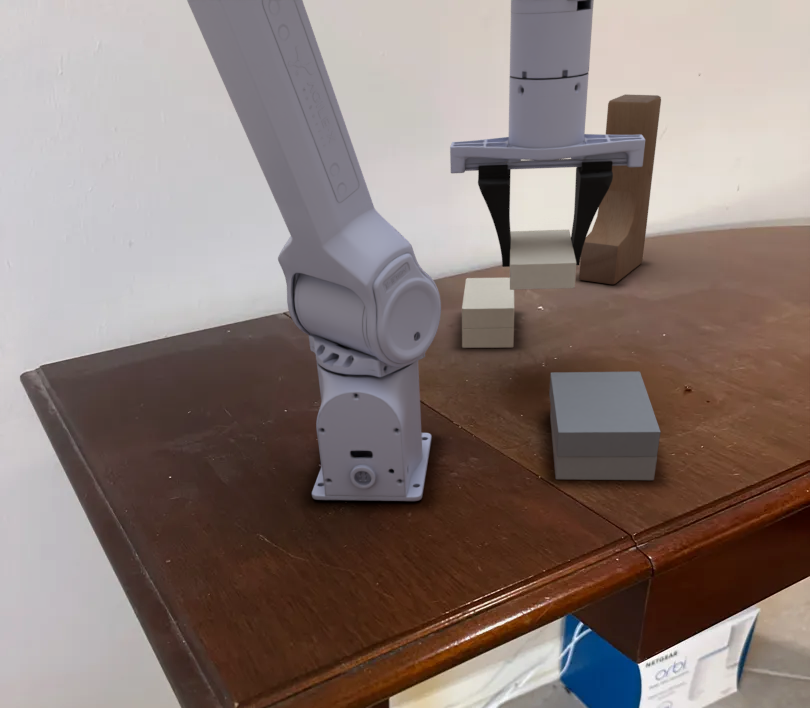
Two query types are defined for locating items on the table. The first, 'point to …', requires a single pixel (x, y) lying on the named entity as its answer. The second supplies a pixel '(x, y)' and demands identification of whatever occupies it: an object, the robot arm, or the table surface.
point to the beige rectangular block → (542, 260)
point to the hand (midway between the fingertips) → (540, 262)
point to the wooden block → (623, 196)
